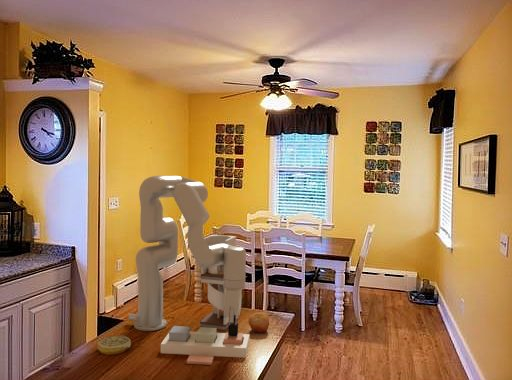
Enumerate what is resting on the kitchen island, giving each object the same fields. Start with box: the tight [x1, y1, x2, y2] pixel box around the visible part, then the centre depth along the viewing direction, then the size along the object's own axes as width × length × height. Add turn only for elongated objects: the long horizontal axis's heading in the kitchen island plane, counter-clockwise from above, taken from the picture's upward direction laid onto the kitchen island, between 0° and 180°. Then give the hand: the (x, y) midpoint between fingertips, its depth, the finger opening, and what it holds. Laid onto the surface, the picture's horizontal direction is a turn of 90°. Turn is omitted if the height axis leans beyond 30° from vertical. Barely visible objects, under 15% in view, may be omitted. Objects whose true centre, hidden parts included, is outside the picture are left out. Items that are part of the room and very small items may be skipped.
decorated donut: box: [97, 335, 132, 356], centre depth 147 cm, size 10×11×4 cm
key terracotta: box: [224, 331, 244, 345], centre depth 148 cm, size 6×6×3 cm
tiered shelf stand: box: [199, 234, 237, 331], centre depth 172 cm, size 11×11×35 cm
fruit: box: [247, 311, 270, 333], centre depth 166 cm, size 8×8×8 cm
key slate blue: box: [168, 325, 191, 342], centre depth 150 cm, size 6×6×3 cm
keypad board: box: [160, 330, 251, 359], centre depth 149 cm, size 29×12×3 cm, turn 85°
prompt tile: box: [186, 354, 215, 366], centre depth 139 cm, size 8×5×1 cm, turn 85°
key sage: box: [196, 327, 218, 343], centre depth 149 cm, size 6×6×3 cm
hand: (233, 335), depth 148 cm, fingers closed
